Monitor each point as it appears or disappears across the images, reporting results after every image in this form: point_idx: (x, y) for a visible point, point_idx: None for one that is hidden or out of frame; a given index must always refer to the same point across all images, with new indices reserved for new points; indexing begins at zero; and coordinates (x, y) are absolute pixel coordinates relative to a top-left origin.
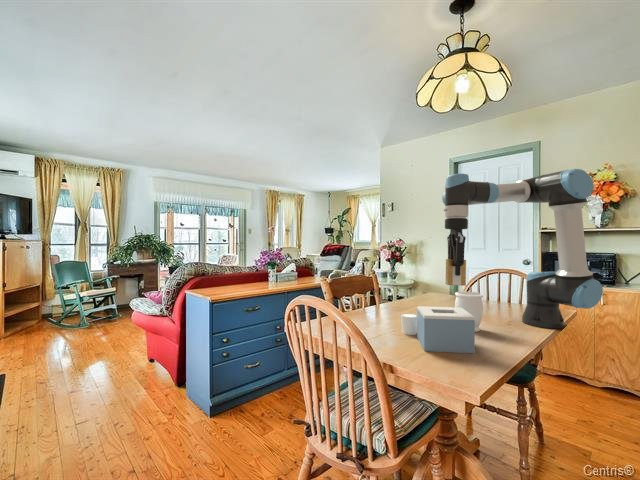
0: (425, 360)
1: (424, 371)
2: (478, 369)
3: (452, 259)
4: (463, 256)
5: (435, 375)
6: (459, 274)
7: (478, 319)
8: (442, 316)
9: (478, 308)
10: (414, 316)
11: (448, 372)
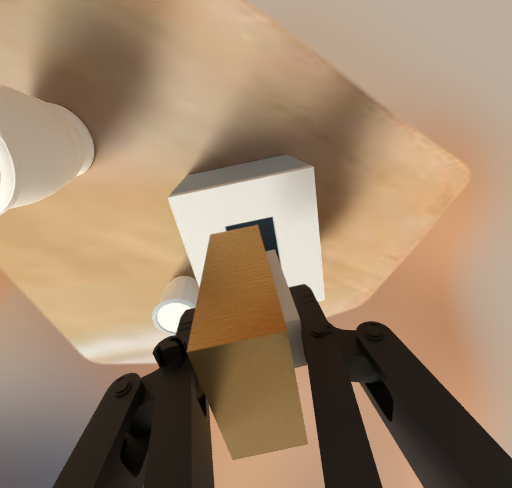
0: (348, 250)
1: (395, 249)
2: (377, 158)
3: (266, 424)
4: (446, 394)
5: (409, 233)
6: (310, 291)
7: (53, 110)
8: (320, 258)
9: (28, 109)
10: (180, 306)
11: (396, 213)
